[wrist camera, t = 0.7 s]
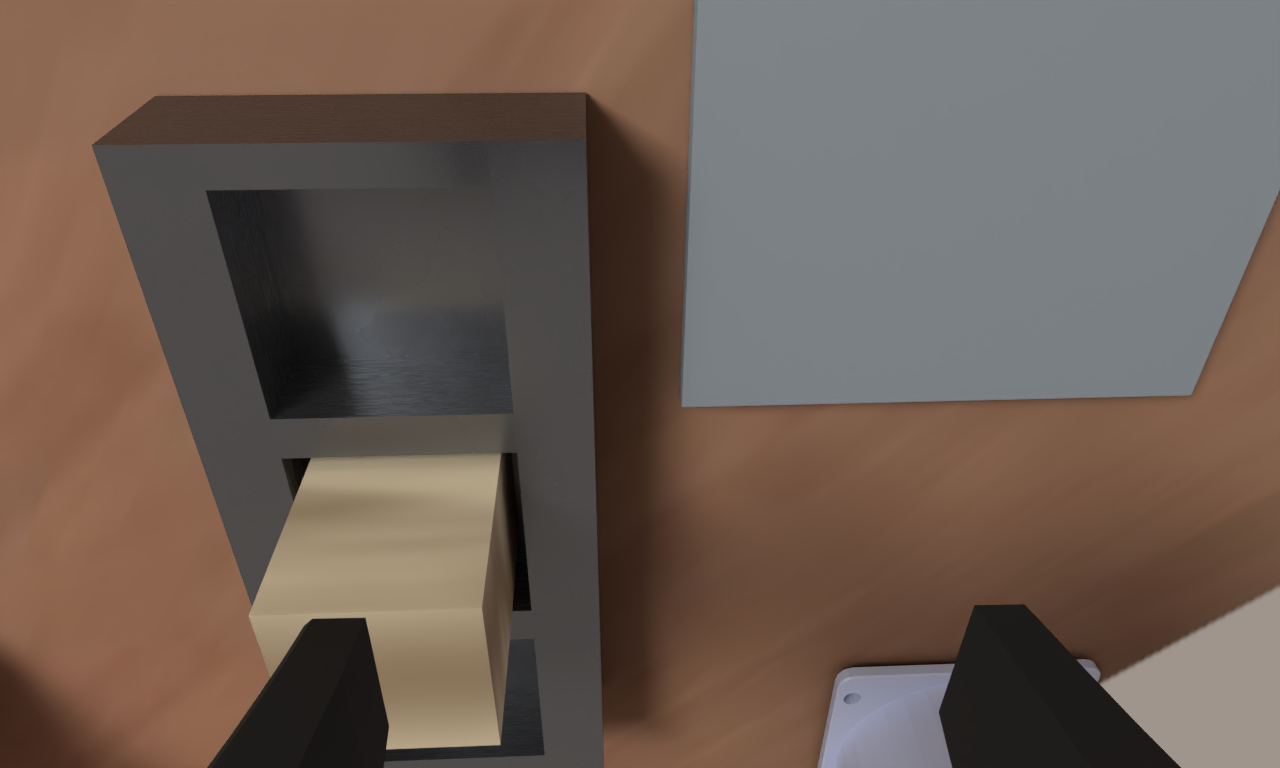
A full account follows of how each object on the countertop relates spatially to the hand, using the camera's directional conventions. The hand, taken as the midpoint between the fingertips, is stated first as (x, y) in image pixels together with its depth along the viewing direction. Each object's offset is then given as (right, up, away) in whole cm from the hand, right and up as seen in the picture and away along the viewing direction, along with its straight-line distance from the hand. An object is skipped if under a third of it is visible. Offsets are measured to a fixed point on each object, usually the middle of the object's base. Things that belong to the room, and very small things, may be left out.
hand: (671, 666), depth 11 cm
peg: (-5, +1, +11) cm, 12 cm away
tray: (-5, +1, +11) cm, 13 cm away
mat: (+7, +8, +7) cm, 13 cm away
